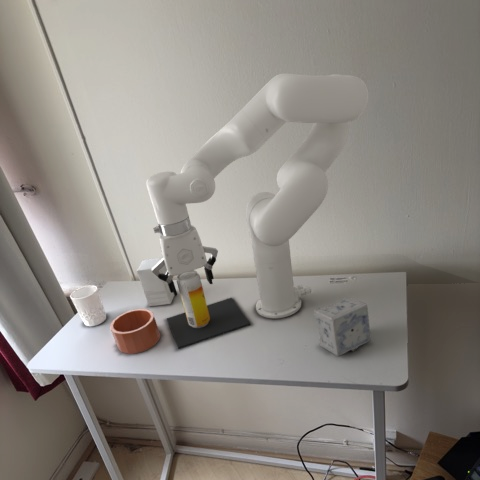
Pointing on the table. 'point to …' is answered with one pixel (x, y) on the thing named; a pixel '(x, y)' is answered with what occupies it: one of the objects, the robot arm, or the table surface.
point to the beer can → (193, 299)
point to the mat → (221, 321)
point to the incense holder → (343, 326)
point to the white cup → (89, 305)
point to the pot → (135, 331)
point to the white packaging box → (154, 283)
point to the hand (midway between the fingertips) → (192, 287)
